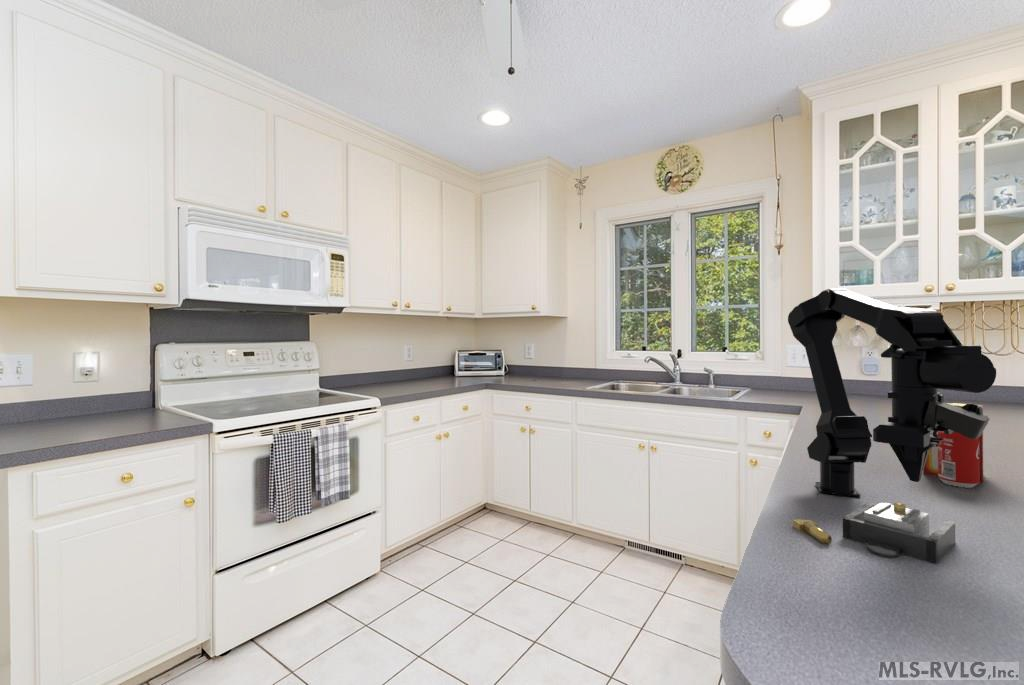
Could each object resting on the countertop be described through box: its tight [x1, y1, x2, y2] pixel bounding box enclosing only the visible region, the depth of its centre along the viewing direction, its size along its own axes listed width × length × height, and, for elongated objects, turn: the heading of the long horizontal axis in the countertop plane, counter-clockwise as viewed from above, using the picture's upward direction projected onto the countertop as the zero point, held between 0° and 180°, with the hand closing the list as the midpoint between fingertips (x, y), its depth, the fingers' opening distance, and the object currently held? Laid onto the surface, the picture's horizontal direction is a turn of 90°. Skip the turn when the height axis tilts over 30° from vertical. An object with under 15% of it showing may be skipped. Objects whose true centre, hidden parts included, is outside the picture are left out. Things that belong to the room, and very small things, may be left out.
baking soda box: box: [922, 402, 984, 483], centre depth 104 cm, size 10×6×16 cm
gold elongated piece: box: [792, 519, 833, 546], centre depth 74 cm, size 7×3×2 cm, turn 176°
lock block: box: [864, 502, 930, 537], centre depth 71 cm, size 7×6×6 cm
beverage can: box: [937, 431, 981, 489], centre depth 98 cm, size 6×6×12 cm
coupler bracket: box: [842, 502, 956, 564], centre depth 71 cm, size 14×11×3 cm
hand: (915, 481), depth 77 cm, fingers closed
